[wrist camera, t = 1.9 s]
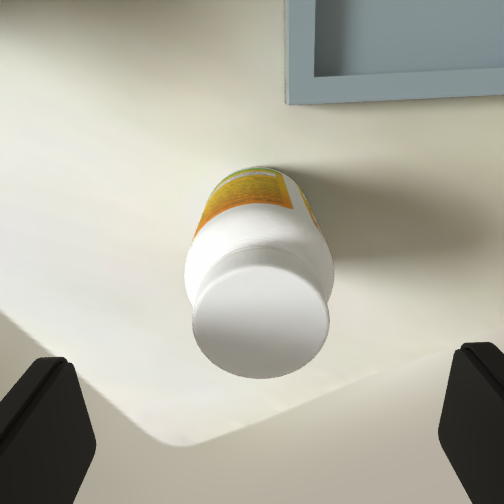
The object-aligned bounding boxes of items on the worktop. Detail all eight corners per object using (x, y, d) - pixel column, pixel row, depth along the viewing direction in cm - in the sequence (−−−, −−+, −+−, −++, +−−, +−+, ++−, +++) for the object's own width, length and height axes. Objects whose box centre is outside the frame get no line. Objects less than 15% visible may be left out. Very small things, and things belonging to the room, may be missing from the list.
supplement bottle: (186, 226, 19) (130, 343, 11) (245, 142, 18) (238, 199, 9) (266, 279, 21) (276, 423, 12) (329, 206, 19) (395, 312, 10)
